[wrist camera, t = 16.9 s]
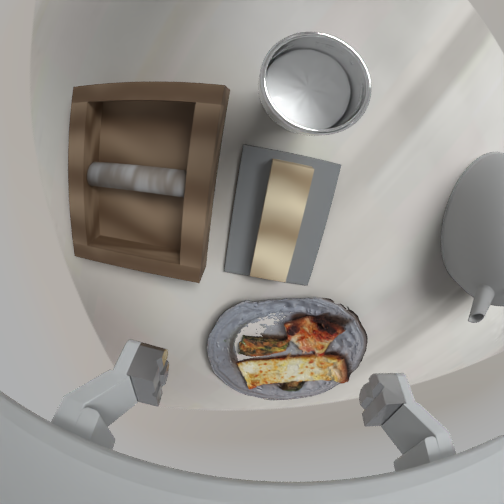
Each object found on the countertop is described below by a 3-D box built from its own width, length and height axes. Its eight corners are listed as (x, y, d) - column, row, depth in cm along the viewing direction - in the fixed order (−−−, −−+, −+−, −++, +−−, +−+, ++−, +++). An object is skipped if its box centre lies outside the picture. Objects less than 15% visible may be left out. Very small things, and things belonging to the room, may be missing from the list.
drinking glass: (250, 110, 27) (233, 100, 14) (282, 60, 25) (293, 9, 11) (305, 142, 29) (337, 161, 15) (337, 92, 26) (393, 73, 12)
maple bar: (272, 158, 29) (272, 160, 28) (311, 166, 29) (314, 169, 28) (250, 268, 36) (249, 276, 34) (284, 274, 36) (285, 282, 34)
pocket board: (91, 88, 26) (73, 87, 22) (230, 89, 26) (224, 85, 23) (89, 243, 36) (74, 256, 32) (205, 266, 36) (199, 283, 33)
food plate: (374, 284, 36) (381, 299, 33) (353, 383, 47) (356, 398, 43) (196, 293, 39) (190, 309, 36) (223, 388, 50) (221, 403, 46)
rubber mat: (243, 144, 29) (243, 144, 29) (340, 164, 29) (341, 165, 29) (224, 269, 36) (224, 271, 36) (307, 283, 37) (307, 285, 36)
